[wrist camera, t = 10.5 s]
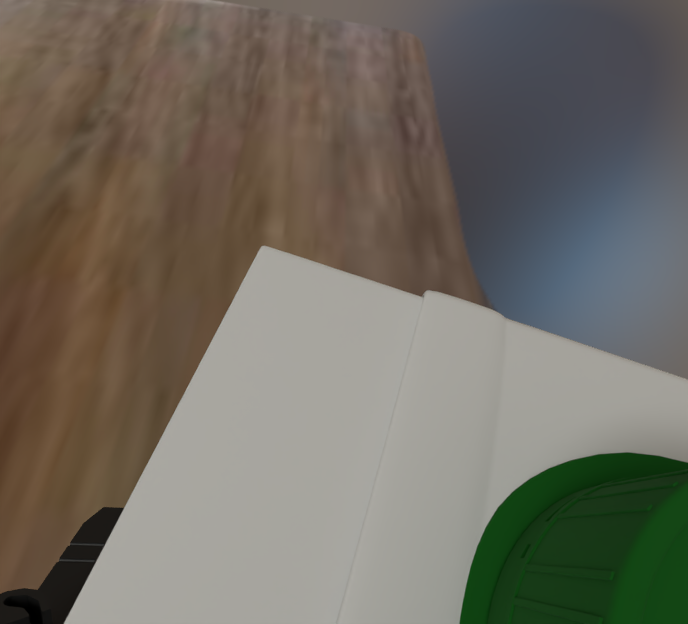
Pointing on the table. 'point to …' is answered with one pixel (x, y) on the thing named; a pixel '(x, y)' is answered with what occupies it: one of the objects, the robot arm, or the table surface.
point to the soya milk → (402, 471)
